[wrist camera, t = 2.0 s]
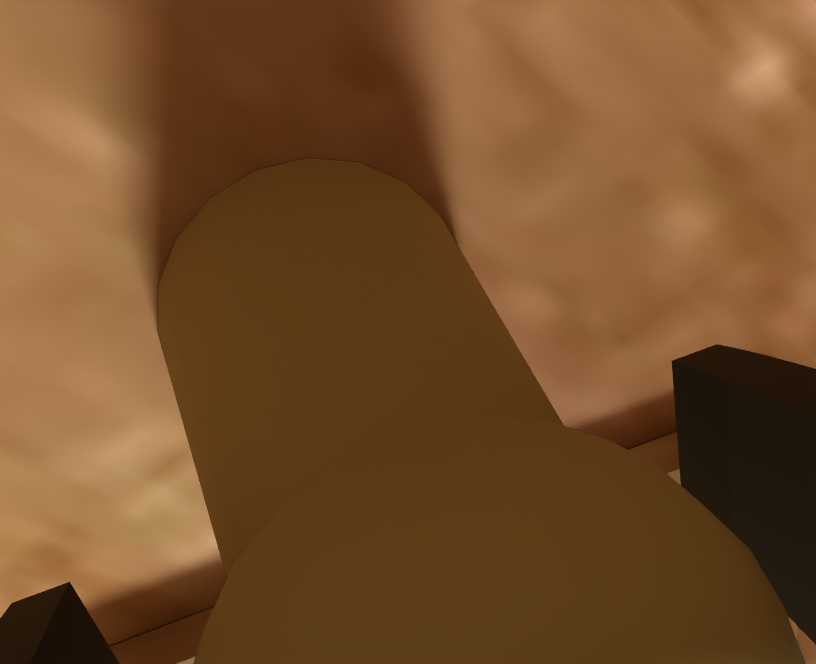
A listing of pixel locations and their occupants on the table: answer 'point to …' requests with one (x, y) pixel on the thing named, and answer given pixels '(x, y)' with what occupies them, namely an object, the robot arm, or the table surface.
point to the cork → (417, 457)
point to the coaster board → (178, 642)
